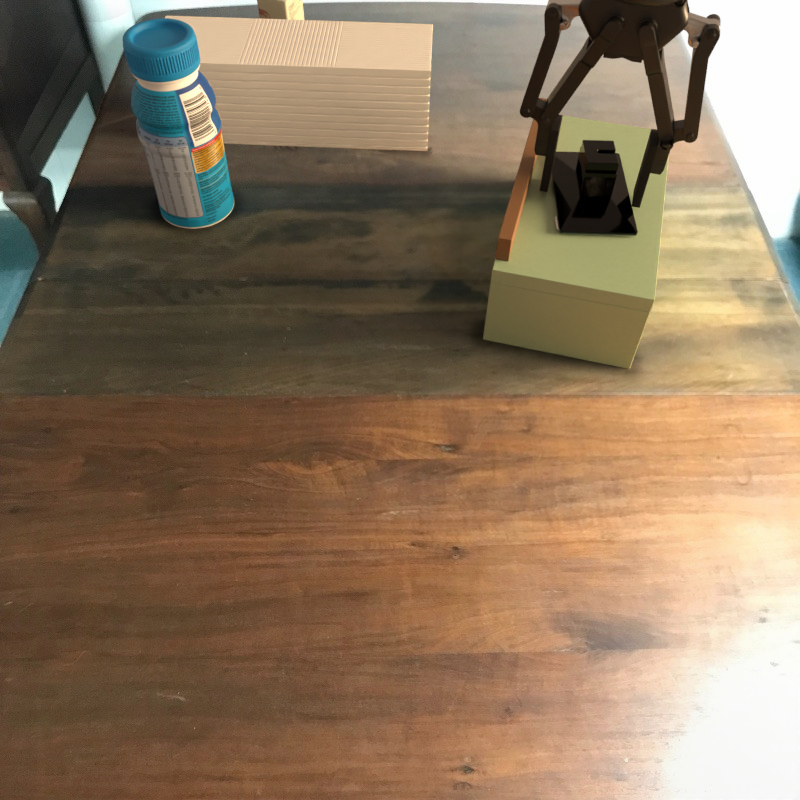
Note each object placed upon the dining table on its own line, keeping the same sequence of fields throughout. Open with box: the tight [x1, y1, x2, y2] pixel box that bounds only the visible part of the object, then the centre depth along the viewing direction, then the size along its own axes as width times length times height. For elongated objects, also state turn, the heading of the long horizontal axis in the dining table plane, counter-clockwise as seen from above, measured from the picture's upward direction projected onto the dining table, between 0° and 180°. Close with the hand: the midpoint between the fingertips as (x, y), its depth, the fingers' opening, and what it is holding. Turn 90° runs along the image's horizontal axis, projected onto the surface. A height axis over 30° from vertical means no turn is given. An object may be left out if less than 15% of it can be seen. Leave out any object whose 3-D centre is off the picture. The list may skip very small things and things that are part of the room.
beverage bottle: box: [122, 17, 235, 230], centre depth 81 cm, size 8×8×20 cm
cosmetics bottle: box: [256, 0, 305, 20], centre depth 105 cm, size 5×4×10 cm
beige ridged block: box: [164, 15, 434, 152], centre depth 95 cm, size 32×11×11 cm, turn 87°
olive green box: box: [482, 97, 670, 370], centre depth 79 cm, size 14×26×12 cm, turn 165°
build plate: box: [552, 140, 638, 236], centre depth 74 cm, size 12×7×5 cm, turn 178°
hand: (590, 190), depth 75 cm, fingers closed on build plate, 8 cm apart
